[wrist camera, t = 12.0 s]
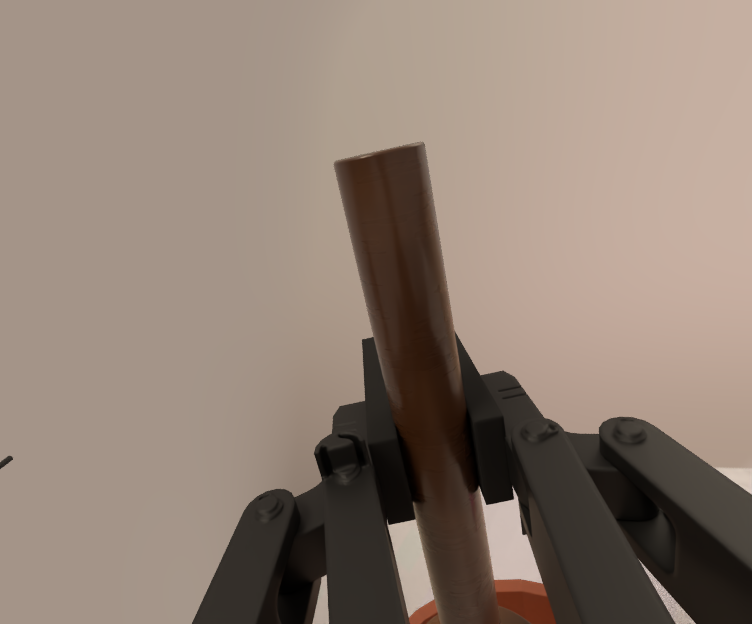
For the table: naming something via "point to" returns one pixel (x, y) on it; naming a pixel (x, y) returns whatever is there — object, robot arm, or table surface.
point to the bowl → (507, 602)
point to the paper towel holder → (422, 372)
